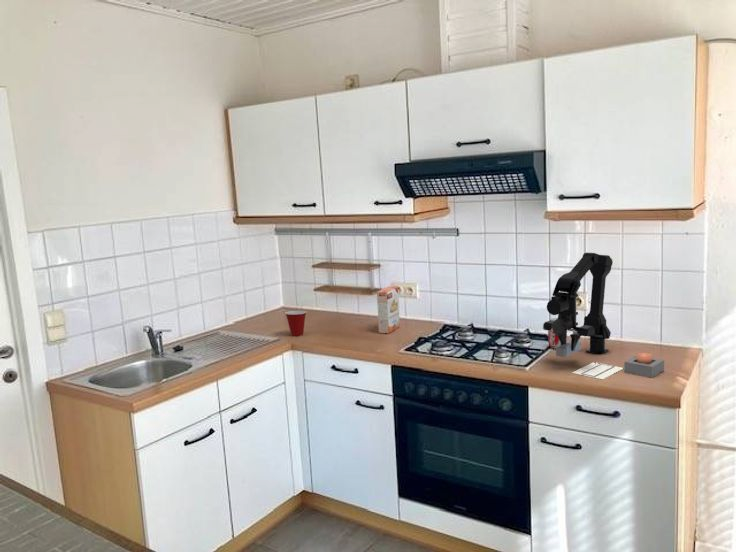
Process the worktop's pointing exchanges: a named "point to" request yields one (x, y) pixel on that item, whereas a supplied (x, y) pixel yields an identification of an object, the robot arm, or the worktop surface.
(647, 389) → the worktop surface
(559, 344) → the soda can
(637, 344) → the worktop surface
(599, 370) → the paper sheet
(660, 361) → the button housing
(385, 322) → the cracker box
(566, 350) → the rectangular block
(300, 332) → the plastic cup
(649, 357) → the button
